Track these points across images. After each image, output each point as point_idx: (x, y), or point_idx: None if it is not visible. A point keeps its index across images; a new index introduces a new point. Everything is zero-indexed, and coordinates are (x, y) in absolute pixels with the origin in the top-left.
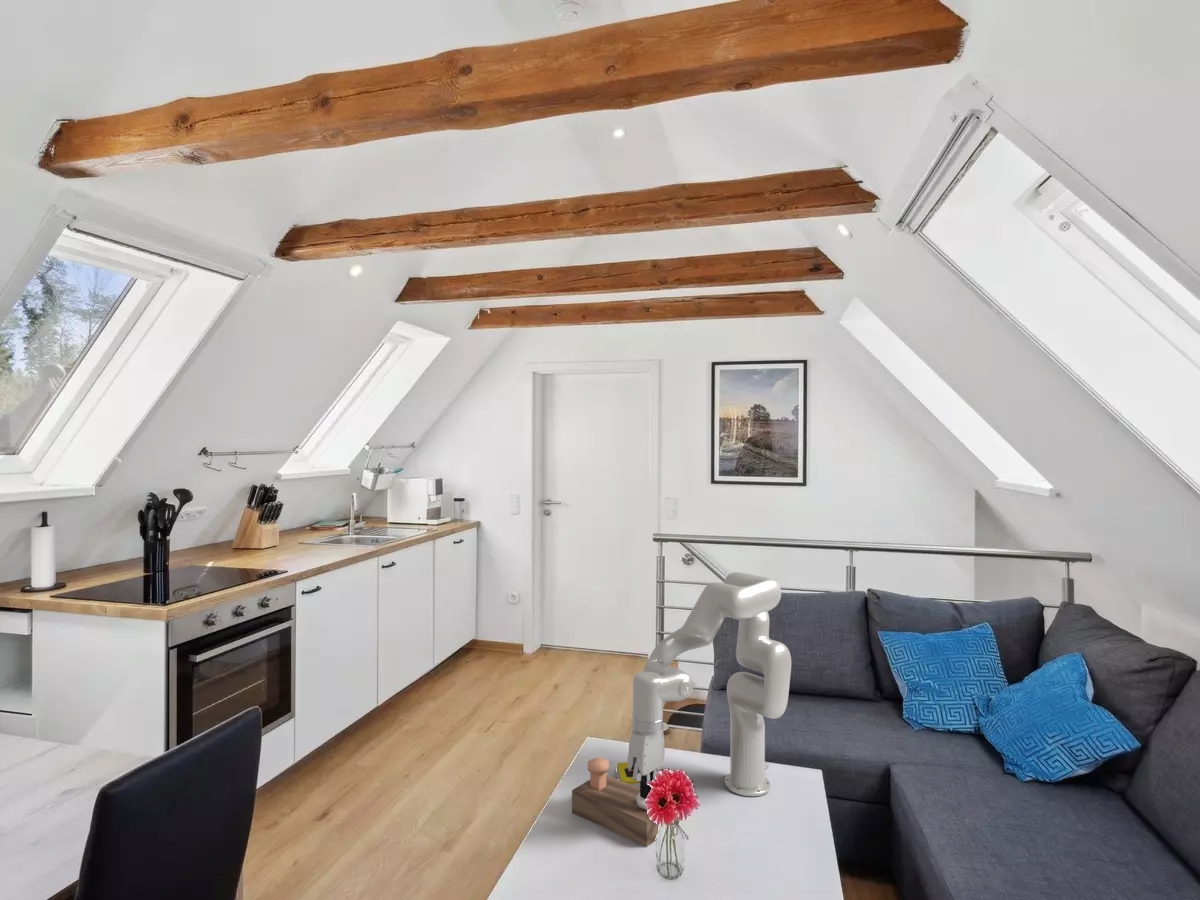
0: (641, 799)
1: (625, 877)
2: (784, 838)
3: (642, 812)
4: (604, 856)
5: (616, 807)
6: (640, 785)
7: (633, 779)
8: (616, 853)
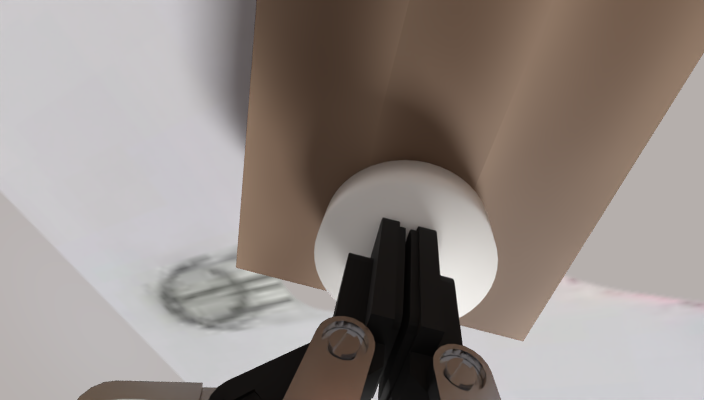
0: (346, 233)
1: (66, 185)
2: None
3: (314, 217)
4: (101, 47)
5: (274, 18)
6: (373, 279)
7: (87, 397)
8: (157, 91)
